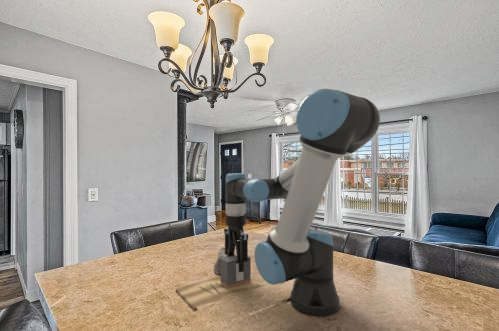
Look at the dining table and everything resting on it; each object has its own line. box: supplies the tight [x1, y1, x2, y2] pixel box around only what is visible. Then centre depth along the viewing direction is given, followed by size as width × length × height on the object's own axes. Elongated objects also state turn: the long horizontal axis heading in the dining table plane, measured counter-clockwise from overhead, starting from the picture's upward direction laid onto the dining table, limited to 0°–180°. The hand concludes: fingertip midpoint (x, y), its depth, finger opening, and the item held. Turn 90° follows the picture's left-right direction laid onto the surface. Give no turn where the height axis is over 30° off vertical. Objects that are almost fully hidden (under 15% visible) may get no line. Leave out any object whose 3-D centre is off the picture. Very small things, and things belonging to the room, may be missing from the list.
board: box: [175, 276, 263, 311], centre depth 93 cm, size 16×26×1 cm, turn 125°
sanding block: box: [220, 254, 252, 288], centre depth 97 cm, size 10×5×9 cm, turn 125°
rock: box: [213, 247, 228, 275], centre depth 111 cm, size 16×8×10 cm, turn 165°
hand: (235, 277), depth 97 cm, fingers closed on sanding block, 5 cm apart
